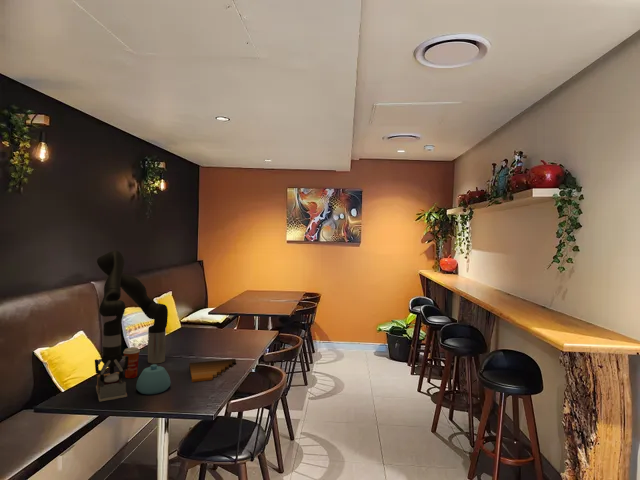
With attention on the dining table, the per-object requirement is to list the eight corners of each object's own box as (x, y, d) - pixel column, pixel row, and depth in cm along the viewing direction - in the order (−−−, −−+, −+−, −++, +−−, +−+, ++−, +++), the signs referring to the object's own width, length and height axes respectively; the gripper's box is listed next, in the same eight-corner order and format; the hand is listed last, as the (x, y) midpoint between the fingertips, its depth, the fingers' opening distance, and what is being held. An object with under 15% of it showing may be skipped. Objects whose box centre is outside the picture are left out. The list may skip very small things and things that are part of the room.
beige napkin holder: (95, 387, 192) (96, 374, 192) (121, 383, 198) (121, 371, 198) (99, 401, 176) (99, 387, 176) (127, 396, 182) (127, 383, 182)
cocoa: (114, 391, 182) (115, 365, 182) (100, 391, 182) (100, 365, 181) (123, 383, 192) (123, 358, 191) (109, 383, 191) (109, 357, 190)
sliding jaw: (97, 385, 192) (97, 375, 192) (120, 381, 197) (120, 371, 197) (97, 387, 190) (97, 376, 190) (121, 383, 195) (121, 373, 195)
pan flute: (234, 364, 233) (189, 368, 224) (234, 358, 233) (189, 362, 224) (242, 378, 210) (191, 383, 201) (242, 371, 210) (191, 376, 201)
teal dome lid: (160, 381, 202) (160, 358, 202) (176, 389, 192) (177, 364, 192) (130, 389, 190) (130, 365, 190) (146, 398, 181) (146, 372, 180)
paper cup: (121, 379, 203) (121, 351, 203) (124, 374, 211) (124, 347, 211) (138, 378, 205) (138, 350, 205) (140, 373, 213) (141, 346, 213)
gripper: (94, 348, 179) (94, 386, 179) (130, 344, 187) (129, 380, 187) (93, 344, 185) (93, 380, 185) (128, 340, 193) (127, 375, 193)
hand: (111, 380), depth 186 cm, fingers closed on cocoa, 6 cm apart
